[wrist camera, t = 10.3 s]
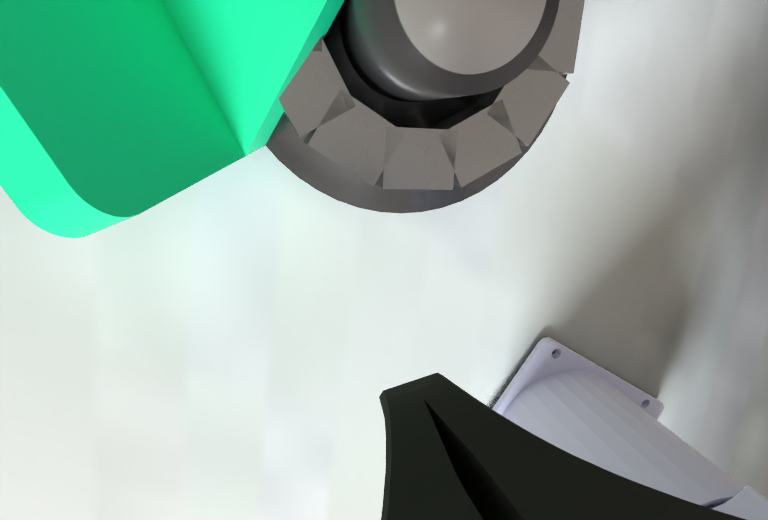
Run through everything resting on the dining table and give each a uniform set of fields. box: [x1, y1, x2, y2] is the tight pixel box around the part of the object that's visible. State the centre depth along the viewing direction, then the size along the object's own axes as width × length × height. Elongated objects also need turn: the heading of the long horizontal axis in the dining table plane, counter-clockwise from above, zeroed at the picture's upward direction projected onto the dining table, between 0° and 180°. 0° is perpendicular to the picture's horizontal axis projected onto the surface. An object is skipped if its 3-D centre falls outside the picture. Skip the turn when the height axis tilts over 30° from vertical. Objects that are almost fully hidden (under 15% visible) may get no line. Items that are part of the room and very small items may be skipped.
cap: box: [340, 0, 560, 102], centre depth 13 cm, size 5×5×5 cm
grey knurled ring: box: [266, 0, 584, 213], centre depth 15 cm, size 13×13×3 cm
